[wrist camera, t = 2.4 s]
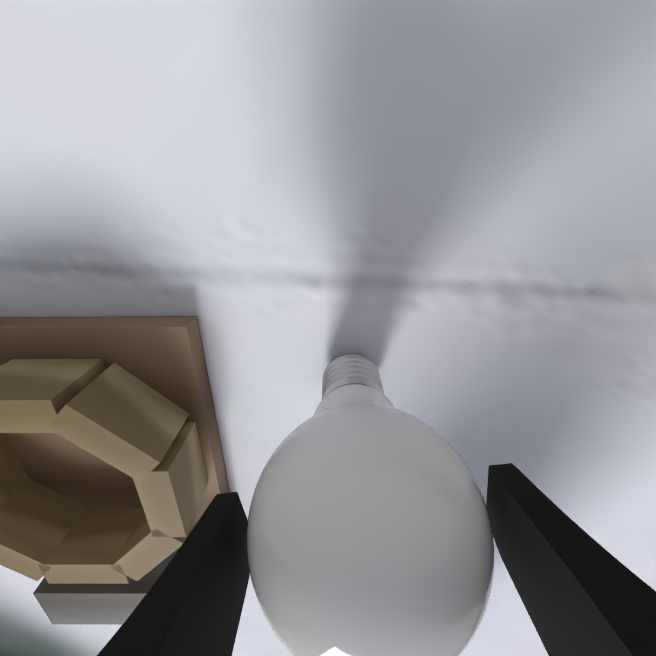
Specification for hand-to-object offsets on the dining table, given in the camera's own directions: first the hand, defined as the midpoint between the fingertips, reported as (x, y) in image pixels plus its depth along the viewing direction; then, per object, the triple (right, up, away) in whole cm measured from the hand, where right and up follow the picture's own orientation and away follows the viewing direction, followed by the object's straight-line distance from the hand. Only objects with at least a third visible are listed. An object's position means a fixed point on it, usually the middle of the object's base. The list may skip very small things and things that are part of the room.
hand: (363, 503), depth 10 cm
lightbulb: (0, +3, +7) cm, 8 cm away
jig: (-13, -4, +10) cm, 16 cm away
